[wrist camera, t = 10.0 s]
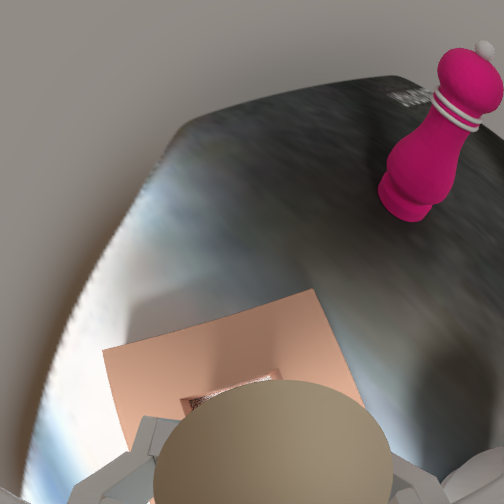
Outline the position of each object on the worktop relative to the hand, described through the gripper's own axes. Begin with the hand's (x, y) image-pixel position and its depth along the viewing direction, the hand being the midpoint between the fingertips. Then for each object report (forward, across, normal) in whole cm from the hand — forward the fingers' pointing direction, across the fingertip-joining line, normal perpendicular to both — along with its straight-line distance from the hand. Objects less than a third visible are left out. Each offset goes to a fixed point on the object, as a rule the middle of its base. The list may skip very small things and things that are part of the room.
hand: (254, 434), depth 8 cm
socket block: (+8, 0, +8) cm, 12 cm away
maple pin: (+4, 0, +5) cm, 6 cm away
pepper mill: (+23, -17, -6) cm, 29 cm away
